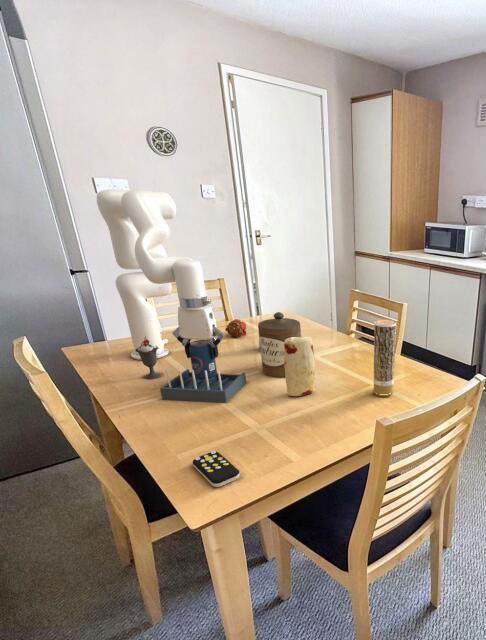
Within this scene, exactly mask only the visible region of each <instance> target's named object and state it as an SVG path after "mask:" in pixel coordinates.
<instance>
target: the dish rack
mask: <svg viewBox="0 0 486 640" xmlns="http://www.w3.org/2000/svg"><path fill="white" fill-rule="evenodd" d="M165 374H166V375H165V376H166V379H167V383H165V384H164V385H162V386H161V387H160V388H159V389H160V390H159V391H160V395H161V399H162V400H168V401H169V400H171V401H188V402H206V403H207V402H209V403H228V402H229V401H230V400H231V398H233V397H234V395H236V393H237V392H238V391H239V390H240V389H241V388H242V387H243V386H244V385H246V383H247V377H246V372H245V371H242V372H241V373H240V374H235V373H221V372H220V370H217V374H216V376H215V378H214V379H211V380H208V376H207V371H205V377H206V381H200V380H197V379H196V378H195V375H194V370H193V369H191V371H190V369H189V368H186V369H185V370H184V371H182V369H181V368H179V369H178V375H177V376H175V377H174V378H172V379H171V378H170V373H169V369H168V368H165Z"/></svg>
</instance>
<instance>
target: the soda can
mask: <svg viewBox="0 0 486 640" xmlns="http://www.w3.org/2000/svg"><path fill="white" fill-rule="evenodd" d="M210 347H211V346H210V344H209V343H208V341H207V340H202V339H196V340H193V341H191V342H190V347H189V353H190V358H189V359H190V363H191V370H194V375H195V378H196V379H197V380H200V381H206V377H205V371H207V376H208V380H211V379H214V378H215V376H216V374H217V373H218V369H217V363H216V358H215V359H211V354H210Z"/></svg>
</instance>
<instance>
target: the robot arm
mask: <svg viewBox="0 0 486 640" xmlns="http://www.w3.org/2000/svg"><path fill="white" fill-rule="evenodd" d="M96 205H97V209H98V211H99V212H100V214H101V216H102V219H103V220H104V222H105V223H106V225H107V228H108V231H109V236H110V241H111V245H112V249H113V254H114V258H115V261H116V263H117V265H118V267H120V268H121V269H123V270H141V271H135V272H126V273H122V274H119V275H118V276H117V277H116V279H115V286H116V289H117V292H118V294H119V297H120V299H121V302H122V305H123V308H124V311H125V315H126V316H125V317H126V319H127V324H128V328H129V332H130V337H131V341H132V344H133V349H134V350H133V351H132V352H131V353H130V357H131V359H135V360H139V361H142V360H141V357H140V355H139V353H138V352H136V351H135V350H136V349H137V348H138V347H140V346H141V343H142V342H143V341H144V339H145V336H146V339H148V340H149V341H150V342H152V344H153V345H155V346H157V347H158V348H159V349H157V353H156V355H157V359H160V358H163V357H166V356H167V355H169V353H170V352H169V349H168V348H166V347H165V345H166V344H167V343H169V340H168V339H167V338H163V339H162V335H161V331H160V330H161V329H160V326H159V325H160V324H159V321H158V315H157V310H156V308H155V307H154V306H153V305H152V304H150V303H149V302H148V301H147V299H151V298H160V297H161V298H162V297H166V296H169V295H170V294H171V293H172V290H173V287H172V284H173V283H175V287H176V292H177V297H178V302H179V303H178V304H179V306H178V307H177V324H178V326H177V327H176V328H175V329H174V330H173V331H172V333H171V334H172V335H173V336H174V337H175V339H176V340H177V341H178V342H179V343H181V345H182V346H183V347H184V352H185V355H186V358H187V359H191V358H190V353H189V347H190V343H191V342H192V340H207V341H208V343H209V344H210V346H211V347H210V354H211V359H215V360H216V358H218V356H219V348H218V346H219V344H220V343H221V342H222V341H223V340H224V338H225V337H226V333H224V332H222V330H220V329H219V327H218V326H217V325H218V324H217V320H216V317H215V314H214V311H213V309H212V306H211V304H212V300H211V299H208V296H207V292H206V291H207V290H206V286H205V280H204V279H205V278H204V272H203V268H202V264H201V262H200V261H199V260H195V259H192V258H191V257H189V256H186V255H185V256H184V255H181V256H179V255H178V256H168V255H167V252H166V250H165V248H164V246H163V245H162V243H165V241H167V240H168V239H169V237H170V235H171V229H170V228H169V225H168V224H167V222H166V221H165V220H172V219H174V218H176V216H177V206H176V203H175V201H174V199H173V198H172V197H171V195H170V194H168V193H167V192H164V191H158V190H145V189H144V190H143V189H134V190H133V189H132V190H130V189H117V188H116V189H112V188H111V189H110V188H109V189H103V190H100V191H98V192H97V194H96ZM216 336H217V338H216ZM146 339H145V340H146Z"/></svg>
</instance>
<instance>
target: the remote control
mask: <svg viewBox="0 0 486 640" xmlns="http://www.w3.org/2000/svg"><path fill="white" fill-rule="evenodd" d="M192 466H193V468H195V470H197V472H198V473H200V475H201V476H202V477H204V479H205V480H206V481H207V482H208V483H209V484H210V485H211V486H212V487H215V488H219V487H223V486H225V485H227V484H230V483H232V482H234V481H236V480H237V479H239V478H240V475H241V474H240V470H239V468H237V467H236V466H234V465H233V463H231V462H230V461H229V460H228V459H227V458H226V457H225V456H223V454H221V453H220V452H219V451H214V450H213V451H210V452H207V453H205V454H203V455H200V456H197V457H195V458H194V459H193V460H192Z"/></svg>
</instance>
